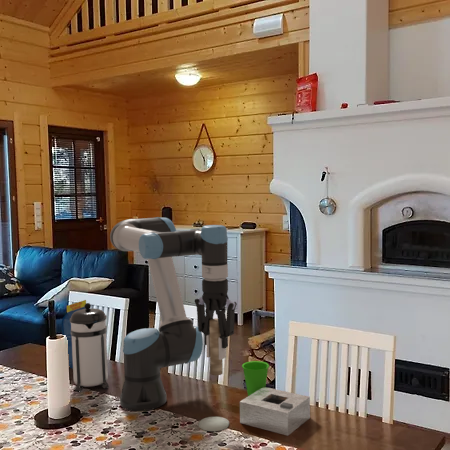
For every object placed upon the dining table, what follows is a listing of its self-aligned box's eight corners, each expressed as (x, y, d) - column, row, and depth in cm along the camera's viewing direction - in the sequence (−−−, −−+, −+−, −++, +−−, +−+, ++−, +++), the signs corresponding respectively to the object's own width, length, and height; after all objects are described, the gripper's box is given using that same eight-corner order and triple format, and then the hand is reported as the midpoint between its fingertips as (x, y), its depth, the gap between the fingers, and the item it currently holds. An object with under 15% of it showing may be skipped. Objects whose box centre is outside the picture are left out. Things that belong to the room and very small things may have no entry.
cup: (268, 403, 178) (267, 370, 177) (240, 402, 180) (239, 369, 179) (271, 393, 186) (270, 361, 186) (244, 392, 188) (244, 360, 188)
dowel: (208, 374, 162) (207, 320, 161) (214, 370, 165) (213, 317, 164) (218, 376, 160) (217, 322, 159) (224, 372, 163) (224, 319, 162)
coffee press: (123, 381, 202) (119, 300, 199) (90, 396, 188) (86, 309, 186) (89, 373, 211) (85, 296, 209) (56, 387, 197) (52, 304, 195)
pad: (192, 426, 162) (192, 425, 162) (210, 415, 170) (210, 414, 170) (217, 434, 157) (217, 432, 157) (235, 422, 164) (234, 420, 164)
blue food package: (63, 367, 219) (60, 305, 217) (82, 358, 230) (79, 299, 228) (75, 369, 217) (73, 306, 215) (94, 360, 228) (92, 300, 226)
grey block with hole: (240, 422, 164) (239, 399, 163) (264, 406, 175) (263, 384, 175) (288, 435, 155) (287, 411, 154) (310, 417, 166) (309, 394, 166)
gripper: (184, 278, 162) (185, 356, 164) (232, 283, 153) (233, 365, 155) (199, 274, 168) (200, 349, 170) (246, 278, 159) (247, 358, 161)
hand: (216, 357), depth 163 cm, fingers closed on dowel, 3 cm apart
